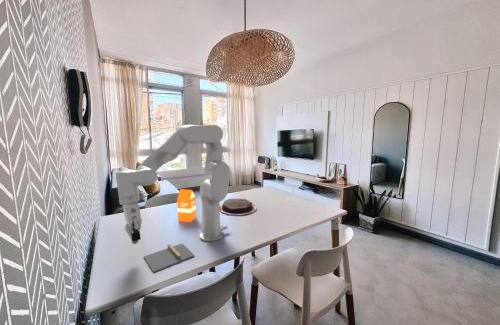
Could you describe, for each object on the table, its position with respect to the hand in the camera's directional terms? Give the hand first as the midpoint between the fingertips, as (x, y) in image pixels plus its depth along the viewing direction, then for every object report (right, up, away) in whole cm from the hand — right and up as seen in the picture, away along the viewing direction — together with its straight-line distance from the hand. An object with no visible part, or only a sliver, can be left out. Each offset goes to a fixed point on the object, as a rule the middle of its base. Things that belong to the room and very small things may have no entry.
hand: (134, 237), depth 95 cm
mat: (+14, -10, +3) cm, 18 cm away
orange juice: (+10, -4, +46) cm, 48 cm away
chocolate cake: (+42, -2, +66) cm, 78 cm away
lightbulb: (0, -3, 0) cm, 3 cm away
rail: (+16, -10, +6) cm, 19 cm away
